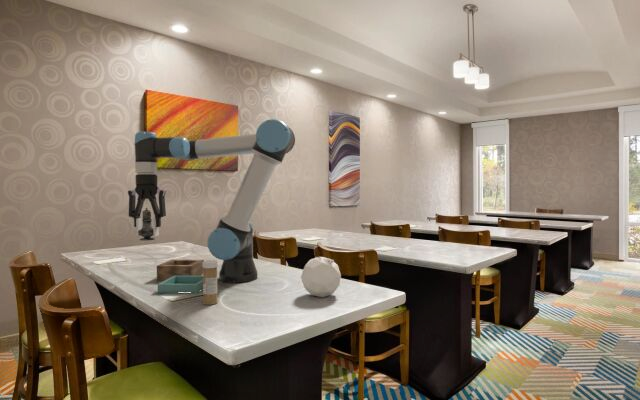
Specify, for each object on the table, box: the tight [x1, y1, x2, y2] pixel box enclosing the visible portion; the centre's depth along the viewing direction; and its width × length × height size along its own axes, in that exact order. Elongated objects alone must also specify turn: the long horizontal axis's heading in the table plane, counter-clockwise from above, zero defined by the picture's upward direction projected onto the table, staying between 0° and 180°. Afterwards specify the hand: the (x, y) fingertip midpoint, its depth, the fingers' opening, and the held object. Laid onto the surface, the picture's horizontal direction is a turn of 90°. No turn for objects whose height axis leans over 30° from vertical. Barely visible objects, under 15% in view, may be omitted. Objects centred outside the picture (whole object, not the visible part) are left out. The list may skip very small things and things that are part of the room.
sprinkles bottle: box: [202, 259, 219, 306], centre depth 128 cm, size 5×5×14 cm
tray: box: [157, 275, 203, 294], centre depth 148 cm, size 14×14×3 cm
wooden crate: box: [156, 259, 205, 282], centre depth 166 cm, size 14×14×6 cm
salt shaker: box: [139, 207, 156, 242], centre depth 152 cm, size 6×6×12 cm
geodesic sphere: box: [300, 256, 342, 298], centre depth 137 cm, size 14×14×14 cm
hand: (147, 235), depth 152 cm, fingers closed on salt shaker, 6 cm apart
